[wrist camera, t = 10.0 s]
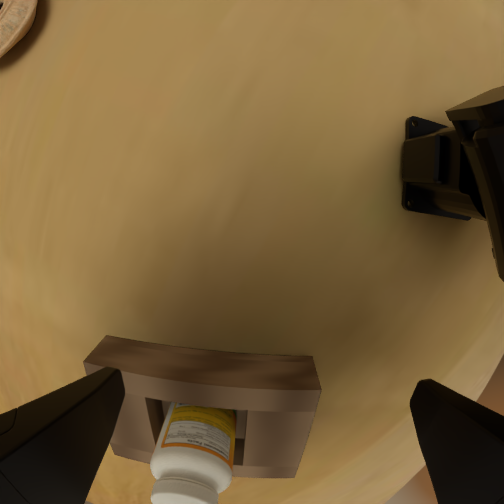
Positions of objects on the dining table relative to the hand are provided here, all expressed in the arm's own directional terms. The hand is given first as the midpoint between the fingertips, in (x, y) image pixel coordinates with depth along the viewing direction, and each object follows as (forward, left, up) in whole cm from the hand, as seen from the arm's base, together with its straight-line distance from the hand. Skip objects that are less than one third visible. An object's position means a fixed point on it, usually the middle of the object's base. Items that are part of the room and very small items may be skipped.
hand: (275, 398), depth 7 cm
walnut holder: (+4, +12, -12) cm, 17 cm away
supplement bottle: (+4, +12, -11) cm, 17 cm away
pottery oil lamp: (+24, -23, -12) cm, 36 cm away
